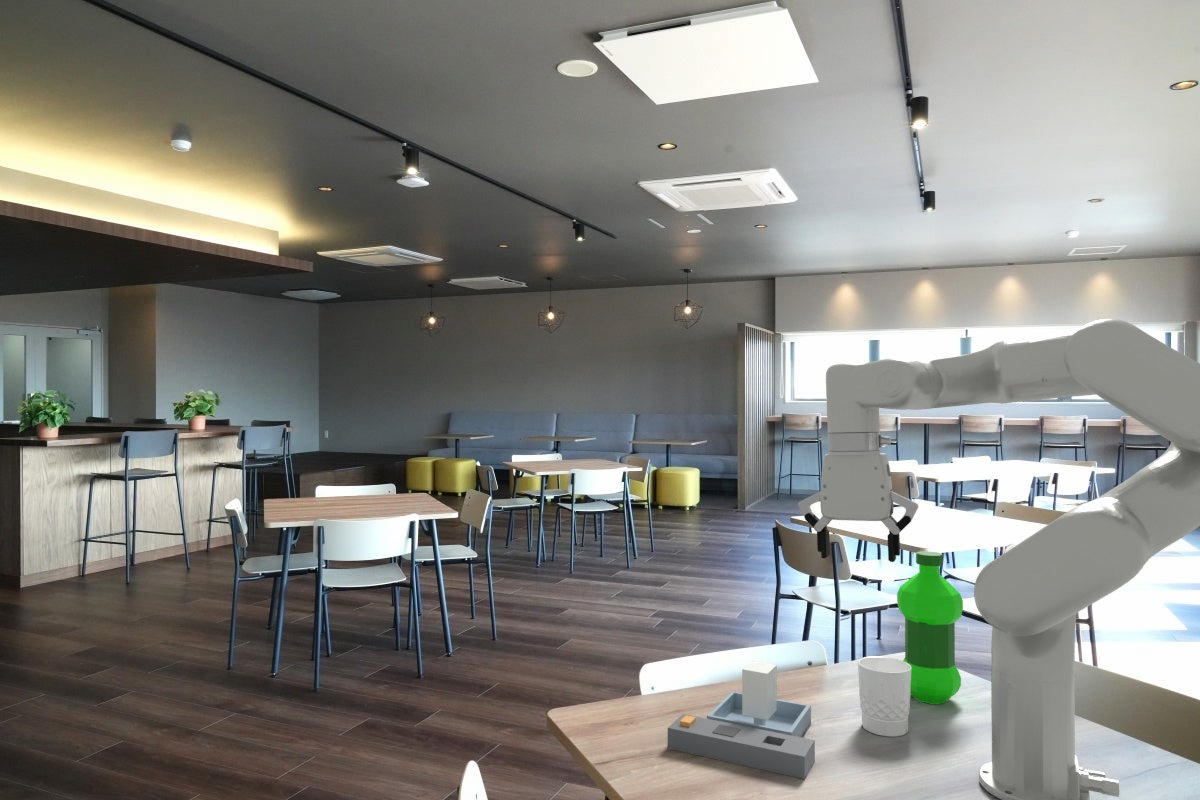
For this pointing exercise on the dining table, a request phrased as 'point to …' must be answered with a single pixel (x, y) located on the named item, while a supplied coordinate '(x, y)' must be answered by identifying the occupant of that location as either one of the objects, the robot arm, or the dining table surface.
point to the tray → (784, 720)
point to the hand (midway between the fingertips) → (858, 558)
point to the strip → (743, 745)
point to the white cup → (884, 695)
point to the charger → (759, 691)
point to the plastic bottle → (930, 630)
